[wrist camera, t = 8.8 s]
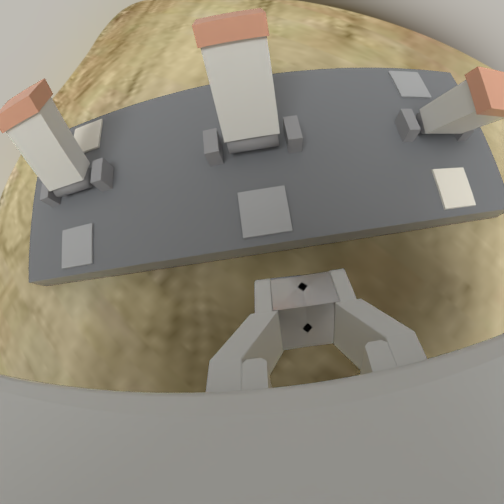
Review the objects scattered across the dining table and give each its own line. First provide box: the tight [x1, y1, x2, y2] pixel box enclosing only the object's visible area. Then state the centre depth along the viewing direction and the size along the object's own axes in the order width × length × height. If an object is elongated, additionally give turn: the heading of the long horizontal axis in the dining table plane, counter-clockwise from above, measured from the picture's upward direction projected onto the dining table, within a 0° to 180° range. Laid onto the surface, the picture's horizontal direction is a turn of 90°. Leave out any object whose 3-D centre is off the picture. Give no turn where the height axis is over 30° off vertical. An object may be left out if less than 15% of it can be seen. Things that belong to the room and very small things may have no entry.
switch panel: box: [29, 68, 504, 286], centre depth 18 cm, size 12×34×4 cm, turn 98°
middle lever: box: [192, 8, 280, 154], centre depth 14 cm, size 2×3×8 cm, turn 98°
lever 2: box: [416, 67, 504, 134], centre depth 12 cm, size 2×3×8 cm, turn 97°
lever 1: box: [0, 79, 93, 197], centre depth 15 cm, size 2×3×8 cm, turn 98°
